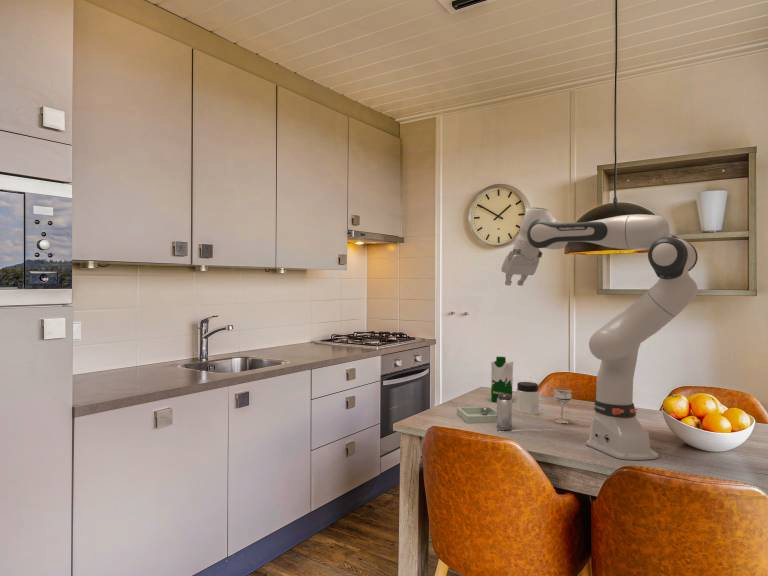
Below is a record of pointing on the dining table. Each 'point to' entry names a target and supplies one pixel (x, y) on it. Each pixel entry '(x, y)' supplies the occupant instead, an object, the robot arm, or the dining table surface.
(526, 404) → the jar
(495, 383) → the milk carton
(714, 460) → the dining table surface
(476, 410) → the tray
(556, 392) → the wineglass
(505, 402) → the shaker
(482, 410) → the ball
